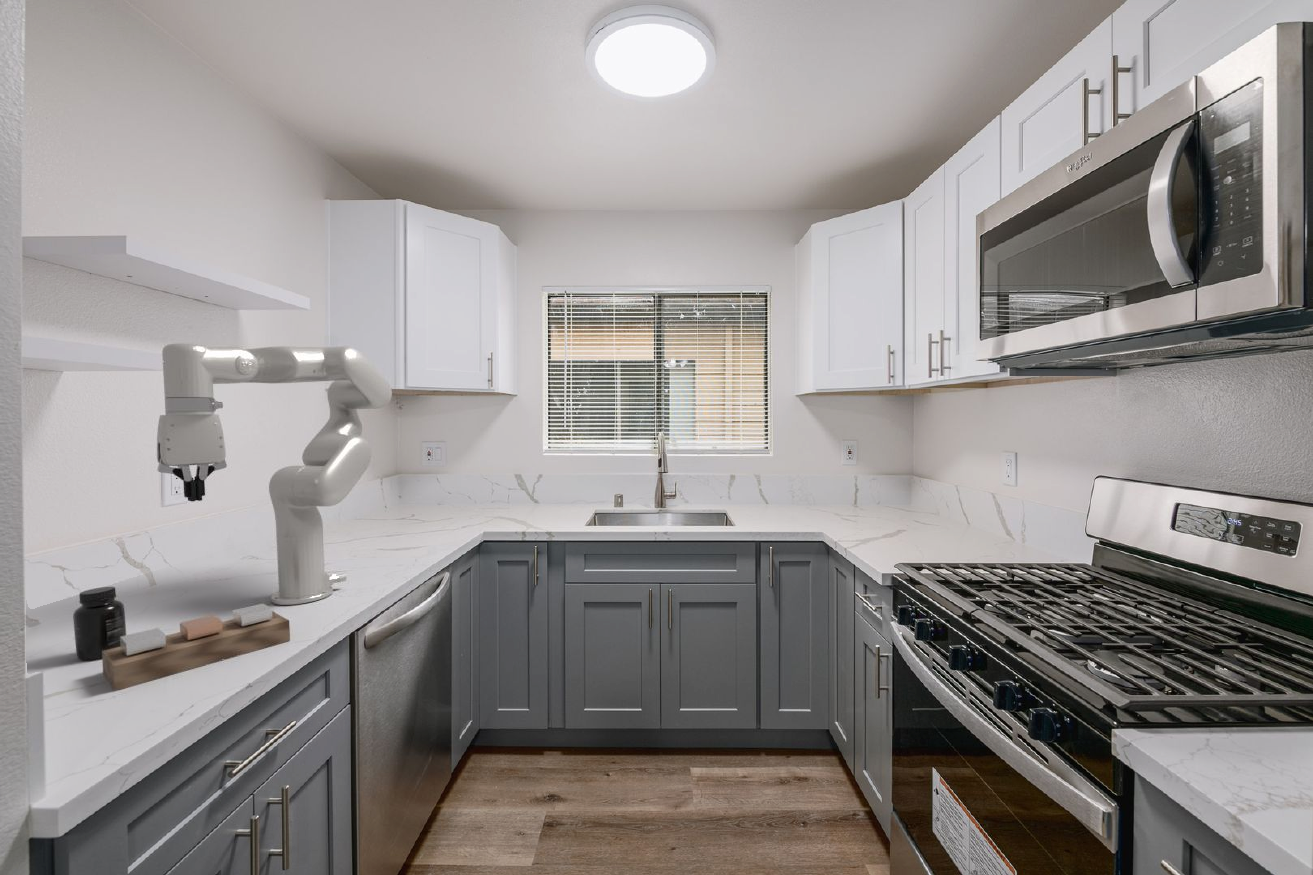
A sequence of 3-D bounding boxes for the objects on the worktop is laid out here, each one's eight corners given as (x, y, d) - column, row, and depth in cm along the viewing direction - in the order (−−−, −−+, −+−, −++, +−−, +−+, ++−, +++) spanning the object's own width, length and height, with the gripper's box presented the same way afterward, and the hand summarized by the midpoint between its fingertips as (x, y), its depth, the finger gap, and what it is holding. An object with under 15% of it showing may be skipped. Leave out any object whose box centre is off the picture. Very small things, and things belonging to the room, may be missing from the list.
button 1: (159, 661, 102) (158, 627, 102) (167, 668, 99) (165, 634, 99) (121, 671, 98) (119, 636, 98) (128, 679, 95) (126, 643, 95)
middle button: (215, 646, 109) (213, 614, 108) (223, 652, 105) (221, 620, 105) (181, 655, 105) (179, 622, 104) (189, 662, 102) (187, 628, 101)
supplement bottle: (123, 643, 112) (120, 582, 111) (130, 652, 108) (126, 588, 107) (73, 655, 107) (69, 591, 106) (78, 665, 102) (74, 598, 102)
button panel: (271, 629, 118) (270, 610, 118) (290, 640, 112) (289, 620, 112) (103, 674, 98) (101, 650, 98) (115, 690, 92) (113, 666, 92)
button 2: (264, 633, 115) (262, 603, 115) (273, 638, 112) (272, 608, 111) (234, 641, 111) (232, 610, 111) (242, 647, 108) (241, 615, 108)
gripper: (229, 407, 122) (233, 494, 122) (135, 408, 110) (140, 504, 111) (241, 407, 117) (245, 497, 118) (144, 407, 105) (150, 507, 106)
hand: (194, 500), depth 114 cm, fingers closed
